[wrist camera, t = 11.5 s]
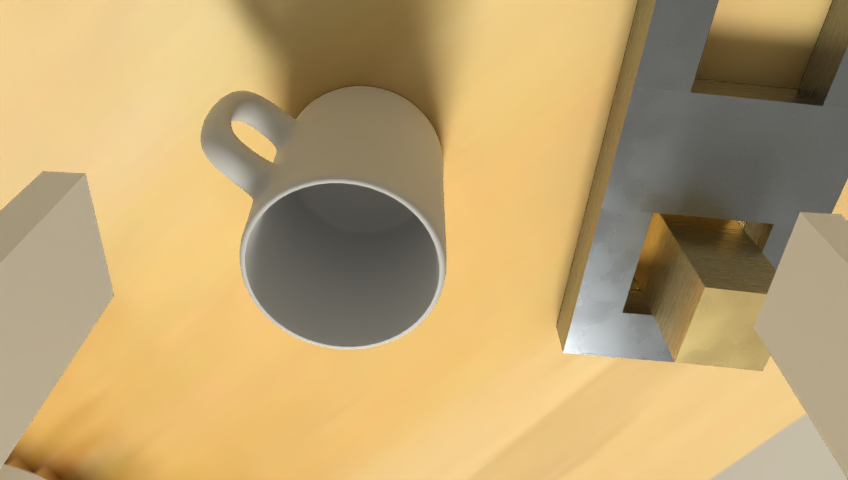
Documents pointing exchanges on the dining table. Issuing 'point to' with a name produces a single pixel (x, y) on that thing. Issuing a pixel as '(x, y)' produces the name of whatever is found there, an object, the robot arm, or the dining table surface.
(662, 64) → the square hole plate
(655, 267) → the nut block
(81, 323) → the robot arm
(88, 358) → the dining table surface
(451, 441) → the dining table surface
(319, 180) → the mug
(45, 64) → the dining table surface
